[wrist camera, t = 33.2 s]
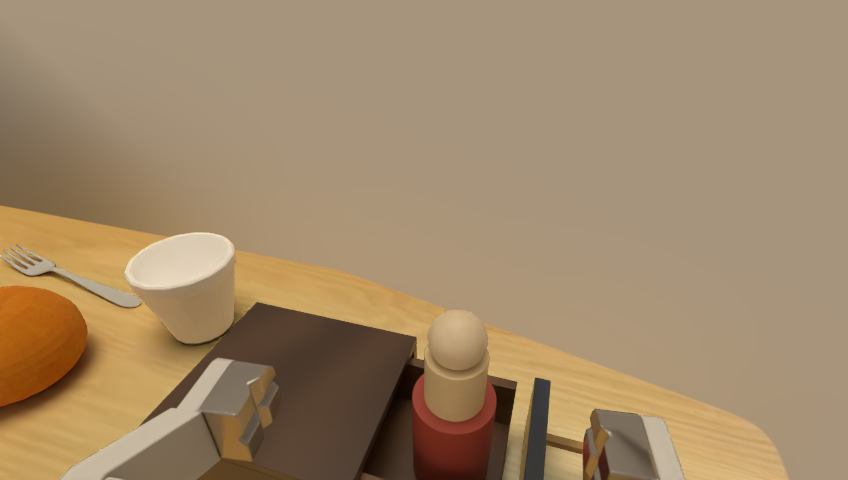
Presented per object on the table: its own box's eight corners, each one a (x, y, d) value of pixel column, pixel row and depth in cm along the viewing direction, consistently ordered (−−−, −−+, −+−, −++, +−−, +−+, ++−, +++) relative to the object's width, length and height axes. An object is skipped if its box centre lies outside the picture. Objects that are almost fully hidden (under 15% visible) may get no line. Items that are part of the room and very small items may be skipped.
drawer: (591, 439, 37) (607, 393, 34) (595, 619, 27) (618, 577, 24) (381, 386, 41) (378, 341, 38) (316, 523, 31) (305, 477, 28)
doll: (464, 421, 37) (476, 277, 29) (501, 482, 32) (527, 333, 24) (402, 448, 35) (396, 301, 27) (432, 516, 30) (437, 366, 22)
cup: (244, 353, 46) (222, 282, 41) (140, 365, 44) (105, 293, 39) (258, 292, 54) (241, 227, 49) (171, 301, 53) (145, 235, 48)
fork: (126, 314, 51) (120, 302, 50) (-1, 265, 59) (-8, 254, 58) (150, 297, 53) (145, 286, 52) (26, 253, 61) (20, 242, 60)
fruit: (70, 316, 50) (28, 242, 45) (120, 361, 45) (79, 283, 39) (-68, 384, 42) (-139, 304, 37) (-28, 451, 37) (-105, 367, 31)
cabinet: (417, 396, 41) (416, 336, 37) (357, 553, 30) (348, 494, 26) (271, 359, 45) (256, 301, 41) (171, 487, 34) (137, 426, 30)
